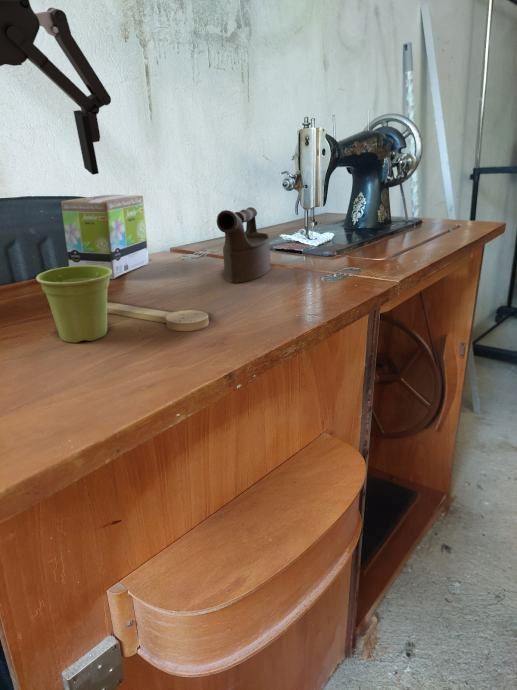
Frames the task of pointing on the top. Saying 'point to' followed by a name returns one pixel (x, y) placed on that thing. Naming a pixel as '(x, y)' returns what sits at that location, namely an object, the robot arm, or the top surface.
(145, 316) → the spoon
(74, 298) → the plant pot
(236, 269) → the clothes iron
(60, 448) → the top surface
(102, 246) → the tea box
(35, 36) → the robot arm
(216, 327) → the top surface
